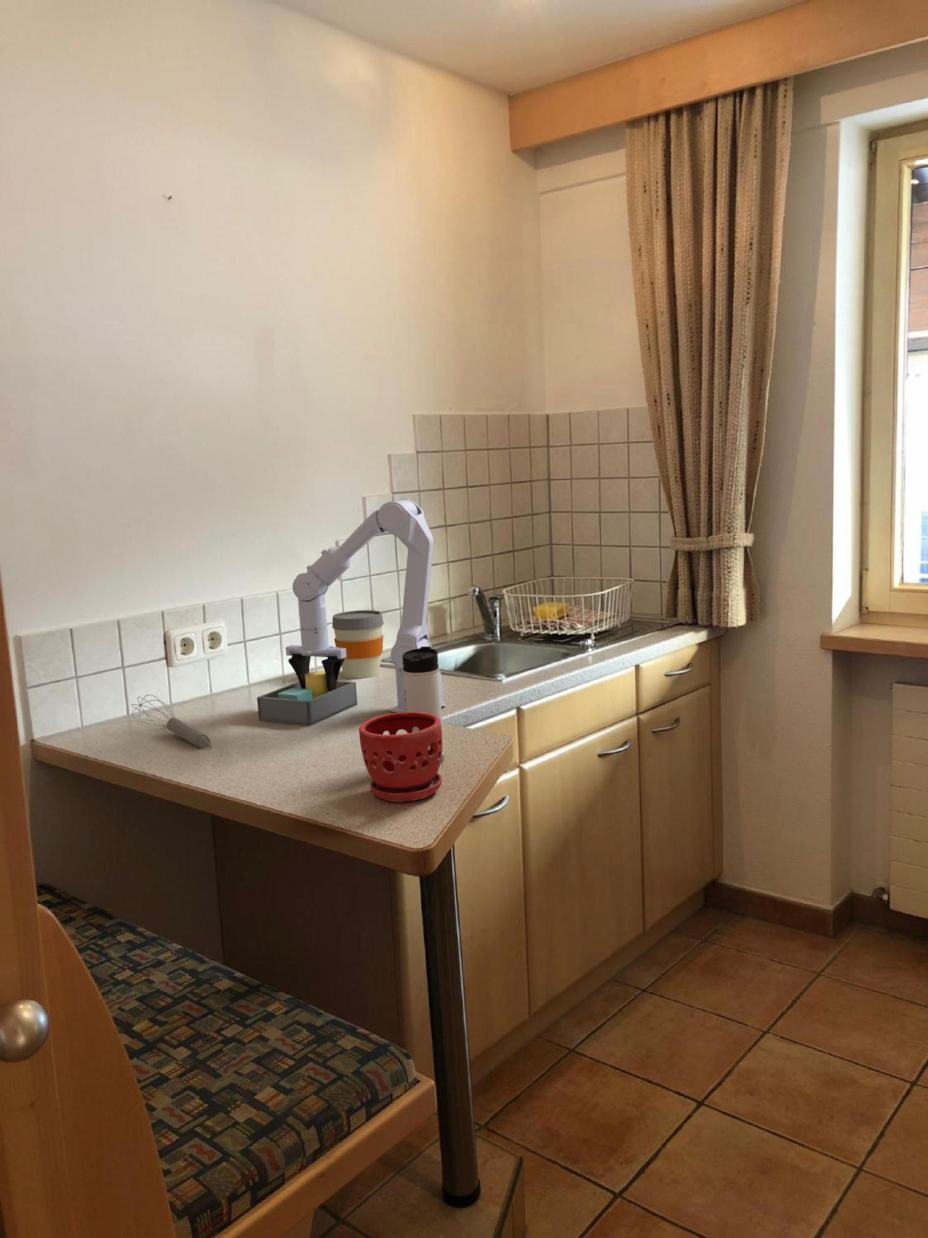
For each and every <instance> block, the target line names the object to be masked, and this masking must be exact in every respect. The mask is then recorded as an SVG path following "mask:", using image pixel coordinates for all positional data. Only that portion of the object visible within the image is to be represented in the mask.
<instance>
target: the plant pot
mask: <svg viewBox="0 0 928 1238" xmlns="http://www.w3.org/2000/svg"><path fill="white" fill-rule="evenodd" d="M413 727H418V728H419V731H417V732H413ZM400 730H402V731H405V732H406V733H403V734H402V733H401V734H399V733H398V731H400ZM442 730H443V727H442V728H441V721H440V719H439V718H438V717H437V716H436V715H433V714H430V713H424V712H391V713H386V714H382V715H378V716H375V717H372V718H370V719H368V720H366V721H364V722H363V723H361V724H360V726H359V727H358V734H359V735H358V736H359V743H360V750H361V753H362V758H363V762H364V766H365V768H366V771H367V772H368V775H369V776H370V779H372V780H371V782H370V784H369V789H370V791H371V792H372V793H373V794H374V795H375V796H376V797H378V798H380V799H381V800H384V801H389V802H397V803H398V802H399V803H400V802H402V803H403V802H404V801H405V802H412V801H420V800H419V799H425V798H427V797H429V796H431V795H433V794H434V793H436V792H438V790H439V789H440V788H441V785H442V782H443V778H442V776H441V775H440V774H439V769H440V766H441V763H442V762H441V758H442V746H443V747H444V743H443V744H442ZM385 732H388V734H384V733H385ZM397 733H398V734H397ZM407 733H408V734H407ZM429 745H430V750H429V749H428V747H429Z"/></svg>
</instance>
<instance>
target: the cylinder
mask: <svg viewBox="0 0 928 1238" xmlns="http://www.w3.org/2000/svg"><path fill="white" fill-rule="evenodd" d="M305 683H306V689H311V690H312V698H313V699H314V698H316V697H319V696H321V695H323V694H326V693H328V692H330V691H328V689H327V681H326V674H325V670H324V671H323V670H319V671H317V670H316V671H309V673H306V674H305Z"/></svg>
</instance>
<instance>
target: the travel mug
mask: <svg viewBox="0 0 928 1238" xmlns="http://www.w3.org/2000/svg"><path fill="white" fill-rule="evenodd" d="M402 659H403V665H404V666H403V673H404V674H403V679H404V695H405V710H406V712H424V713H430V714H433V715H436V716H437V717H438V718H439V719H440V721H441V728H442V744H443V746H442V758H441V763H442V762H443V761H444V759H445V752H444V736H443V735H444V734H443V733H444V731H443V717H442V714H443V713H442V708H441V697H440V680H439V672H438V671H440V668H439V654H438V650H436V649H435V648H432V646H431V647H420V648H419V649H413V650H410V651H407V652H405V653H404V654H403V655H402ZM417 731H419V728H418V727H413V732H417ZM406 734H408V733H407V732H406ZM428 749H429V750H430V745H429V747H428Z"/></svg>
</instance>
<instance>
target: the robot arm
mask: <svg viewBox="0 0 928 1238" xmlns="http://www.w3.org/2000/svg"><path fill="white" fill-rule="evenodd" d="M424 513H425V512H424V510H423V509H422V508H421V507H420V506H419V505H418V504H417V503H416V502H414V501H413V500H412V499H409V498H400V499H398V500H394V501H387V502H385V503H383V504H382V505H380V507H379V508H378V509H376V510H375V511H373V512H372V513H371V514H370V515H368V517H367V518H366V519H365V520H364V521H363V522H362V523H361V524H360V525H359V526H358V527H357V528H356V529H355V530H354V531H353V532H352V533H351V534H350V535H349V536H348V538H347V539H346V540H344V542H343V543H342V544H341V545H340V546H338V547H336V546H331V547H329V548H324V549H322V551H321V552H320V554H321V556H320V557H319V558H317V560H316V561H315V562H314V563H312V564H308V565H307V566H306V567H305V568H306V570H307V571H306V572H302V573H299V574H297V576H296V577H295V579H294V580H293V583H292V591H293V594H294V596H295V597H296V598H297V603H298V619H299V629H300V638H301V639H300V641H301V644H299V645H296V644H294V645H292V644H290V645H288V646H285V654H286V655H285V656H287V657H288V656H291V657H290V658H288V660H287V661H288V663H289V665H290V666H291V668H292V669H293V671H294V673H295V675H296V677H297V679H298V682H299V683H300V685H301V688H302V689H306V683H305V674H306V673H309V672H310V666H311V665H310V664H311V658H312V657H317V658H325V659H323V660H321V664H322V666H323V670H324V671H325V674H326V681H327V689H328V691H333V690H335V689H336V685H337V681H338V679H339V676H340V675H339V674H340V672H341V670H342V664H343V662H344V658H345V657H346V648H338V647H336V646H333V645H329V633H328V622H327V621H328V620H327V608H326V607H327V606H326V598H325V597H326V596H325V595H326V593H327V591H328V590H329V587H330V586H331V585H332V584H333V583H335V582H336V581H337V579H339V578H340V577H341V575H343V574H344V573H345V572H346V571H347V570H348V569H349V568H350V566H351V558H352V556H354V555H355V554H356V553H358V552H359V551H360V550H361V549H362V548H364V546H366V545H367V544H368V543H369V542H370V541H371V540H372V539H374V538H375V536H377V535H379V534H383V533H386V532H387V533H388V534H390V535H392V536H394V537H395V538H398V539H399V541H400V542H401V543H402V544H403V545H404V546H405V547H406V548H407V555H406V556H407V557H406V569H405V577H404V579H405V581H404V588H403V590H404V591H403V603H402V613H401V623H400V626H399V628H398V631H397V633H396V641H395V643H394V645H393V646H392V648H391V651H390V659H391V662H392V663H393V665H394V666H395V667H394V669H395V681H396V682H395V683H396V697H397V698H396V699H397V700H396V701H397V705H396V706H393V707H391V708H390V709H389V712H391V713H398V712H406V710H405V695H404V679H403V674H404V673H403V666H404V665H403V659H402V655H403V654H404V653H405V652H407V651H410V650H413V649H419V648H420V647H431V648H432V644H431V643H432V642H431V641H430V637H429V633H430V629H429V627H428V624H427V616H428V607H429V606H428V605H429V596H430V594H429V593H430V586H431V583H430V582H431V576H432V575H431V574H432V565H433V564H432V563H433V554H434V552H433V551H434V543H435V542H434V536H433V534H432V532H431V530H430V528H429V526H428V524H427V521H426V519H425V514H424ZM438 672H439V680H440V697H441V707H442V706H444V707H446V706H447V704H446V703H445V696H444V695H445V694H444V693H445V692H444V680H443V679H444V678H443V675H442V673H441V671H440V670H439V671H438ZM445 705H446V706H445ZM442 708H443V707H442Z"/></svg>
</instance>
